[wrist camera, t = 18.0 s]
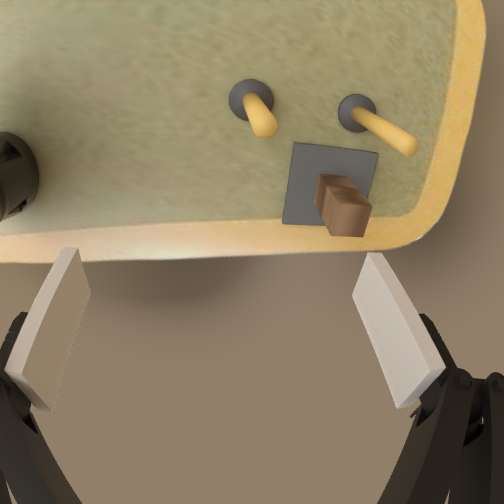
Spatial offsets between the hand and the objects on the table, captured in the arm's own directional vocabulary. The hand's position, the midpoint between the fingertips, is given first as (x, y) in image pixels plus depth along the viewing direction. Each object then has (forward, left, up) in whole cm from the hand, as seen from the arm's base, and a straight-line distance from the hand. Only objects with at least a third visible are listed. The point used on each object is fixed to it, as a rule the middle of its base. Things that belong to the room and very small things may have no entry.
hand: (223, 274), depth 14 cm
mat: (+18, -11, -35) cm, 41 cm away
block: (+18, -11, -34) cm, 40 cm away
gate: (+12, +2, -35) cm, 37 cm away
